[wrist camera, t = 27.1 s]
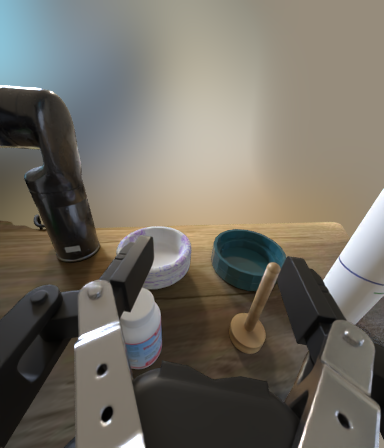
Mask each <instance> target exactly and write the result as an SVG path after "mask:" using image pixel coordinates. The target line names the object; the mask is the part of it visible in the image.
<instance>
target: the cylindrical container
mask: <svg viewBox="0 0 384 448" xmlns="http://www.w3.org/2000/svg"><path fill="white" fill-rule="evenodd" d="M323 282H324V283H325V286H326V287H327V288H328V290H329V293H330V294H331V295H332V297H333V298H334V300H335V302H336V303H337V305H338V307H339V308H340V310H341V312H342V313H343V315H344V317H345V318H346V320H347V321H348V322H350V323H352V324H354V325H355V324H356V323H357V322H358V321H359V320H360V319H361V318H362V317H363V316H364V315H365V314H366V313H367V312H368V311H369V310H370V309H371V308H372V307H373V306H374V305H375V304H376V303H377V302H378V301H379V300H380V299H381V298H382V297H383V296H384V189H383V190H382V192H381V193H380V195H379V196H378V198H377V199H376V201H375V202H374V204H373V205H372V207H371V209H370V210H369V211H368V213H367V215H366V216H365V218H364V219H363V221H362V222H361V224H360V225H359V227H358V228H357V230H356V231H355V233H354V234H353V236H352V237H351V239H350V240H349V242H348V243H347V245H346V247H345V248H344V250H343V251H342V253H341V254H340V256H339V257H338V259H337V260H336V262H335V263H334V265H333V266H332V268H331V269H330V271H329V272H328V274H327V275H326V277H325V279H324V280H323Z"/></svg>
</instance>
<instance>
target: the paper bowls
mask: <svg viewBox="0 0 384 448" xmlns="http://www.w3.org/2000/svg"><path fill="white" fill-rule="evenodd" d="M140 235H144V236H151V237H153V243H154V261H153V265H152V267H151V269H150V271H149V273H148V276H147V278H146V280H145V282H144V284H143V286H142V288H145V289H159V288H163V287H167V286H170V285H172V284H174V283H176V282H177V281H179V280H180V279H181V278H183V276H184V275H185V274H186V273H187V271H188V269H189V266H190V258H191V243H190V241H189V239H188V238H187V236H186V235H185V234H183V233H182V232H180V231H178V230H176V229H173V228H169V227H161V226H156V227H147V228H142V229H139V230H137V231H134V232H132V233H130V234H129V235H127V236H126V237H125V238H123V240H122V241H121V242H120V243H119V245H118V247H117V251H116V254H119V252H120V250H121V249H122V248H123V247H124V246H125V245H127V244H128V243H130V242H134V243H135V241H136V240H137V238H138V237H139V236H140Z"/></svg>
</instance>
